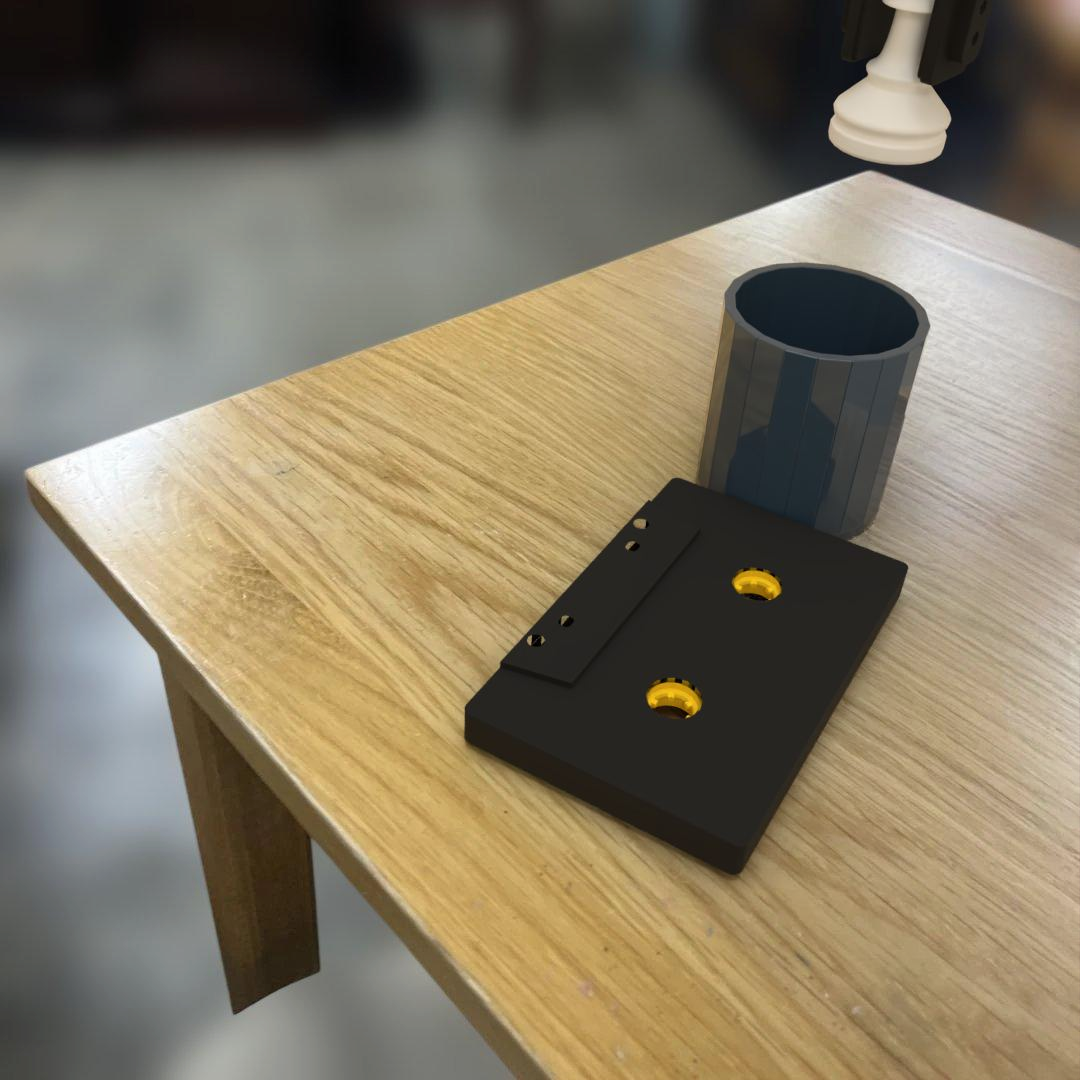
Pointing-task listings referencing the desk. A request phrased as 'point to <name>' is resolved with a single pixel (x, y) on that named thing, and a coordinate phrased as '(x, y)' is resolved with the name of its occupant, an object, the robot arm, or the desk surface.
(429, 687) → the desk surface
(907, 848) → the desk surface
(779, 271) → the pen holder
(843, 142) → the chess pawn
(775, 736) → the cassette tape
